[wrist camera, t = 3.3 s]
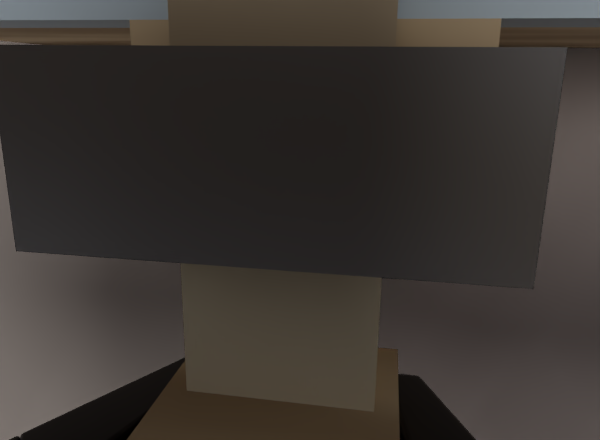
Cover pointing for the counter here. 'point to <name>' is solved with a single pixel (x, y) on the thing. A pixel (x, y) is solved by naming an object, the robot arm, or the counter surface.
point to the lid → (411, 5)
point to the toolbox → (288, 149)
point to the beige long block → (279, 286)
